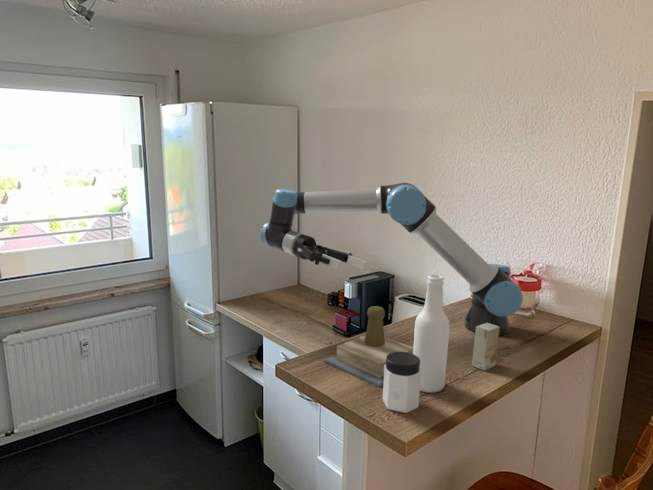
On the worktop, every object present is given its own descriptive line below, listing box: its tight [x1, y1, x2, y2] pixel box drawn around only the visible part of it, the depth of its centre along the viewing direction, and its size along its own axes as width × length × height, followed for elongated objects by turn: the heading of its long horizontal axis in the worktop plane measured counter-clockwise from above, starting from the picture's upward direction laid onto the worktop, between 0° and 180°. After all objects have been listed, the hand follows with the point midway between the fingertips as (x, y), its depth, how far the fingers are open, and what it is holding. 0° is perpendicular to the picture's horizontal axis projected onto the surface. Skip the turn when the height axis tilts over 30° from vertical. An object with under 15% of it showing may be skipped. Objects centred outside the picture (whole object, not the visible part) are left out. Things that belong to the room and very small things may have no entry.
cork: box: [364, 305, 386, 347], centre depth 145 cm, size 6×6×11 cm
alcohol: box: [412, 274, 451, 394], centre depth 128 cm, size 9×9×30 cm
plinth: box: [323, 334, 413, 387], centre depth 144 cm, size 22×20×5 cm
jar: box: [382, 352, 421, 414], centre depth 120 cm, size 9×8×12 cm
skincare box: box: [471, 323, 500, 371], centre depth 143 cm, size 6×4×12 cm
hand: (352, 265), depth 145 cm, fingers open, 13 cm apart
